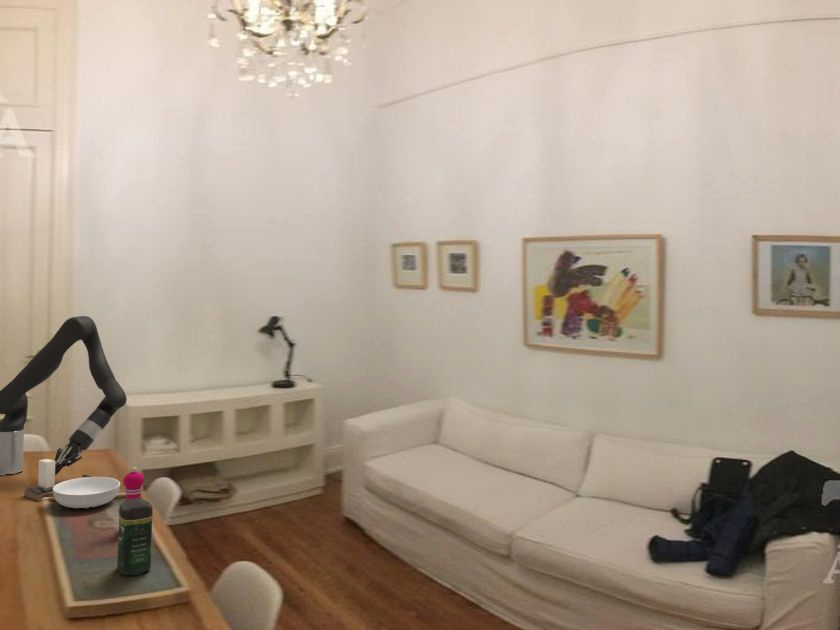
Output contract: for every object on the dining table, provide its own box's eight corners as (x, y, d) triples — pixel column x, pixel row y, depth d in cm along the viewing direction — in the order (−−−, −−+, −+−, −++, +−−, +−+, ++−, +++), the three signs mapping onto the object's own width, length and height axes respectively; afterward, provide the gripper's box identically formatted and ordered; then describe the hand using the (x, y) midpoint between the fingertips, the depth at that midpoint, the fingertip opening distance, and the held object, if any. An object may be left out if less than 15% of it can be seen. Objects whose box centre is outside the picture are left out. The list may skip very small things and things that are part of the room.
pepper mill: (135, 536, 194) (137, 471, 194) (114, 533, 195) (116, 469, 195) (149, 528, 201) (151, 465, 201) (129, 525, 203) (131, 463, 202)
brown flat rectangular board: (83, 482, 246) (83, 473, 246) (99, 486, 241) (99, 478, 240) (24, 496, 227) (24, 487, 227) (39, 501, 222) (39, 492, 222)
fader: (47, 485, 232) (48, 458, 232) (57, 488, 229) (58, 460, 229) (35, 488, 228) (36, 460, 228) (44, 491, 225) (45, 463, 225)
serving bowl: (50, 518, 207) (50, 497, 206) (53, 498, 225) (54, 479, 225) (120, 510, 216) (121, 490, 216) (118, 492, 235) (119, 474, 235)
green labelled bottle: (154, 572, 170) (156, 503, 169) (122, 579, 165) (124, 508, 164) (145, 559, 177) (147, 493, 177) (114, 566, 173) (116, 498, 172)
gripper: (68, 426, 241) (34, 465, 231) (89, 431, 235) (55, 471, 224) (82, 438, 246) (49, 476, 236) (102, 443, 239) (69, 482, 229)
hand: (52, 473), depth 230 cm, fingers closed
